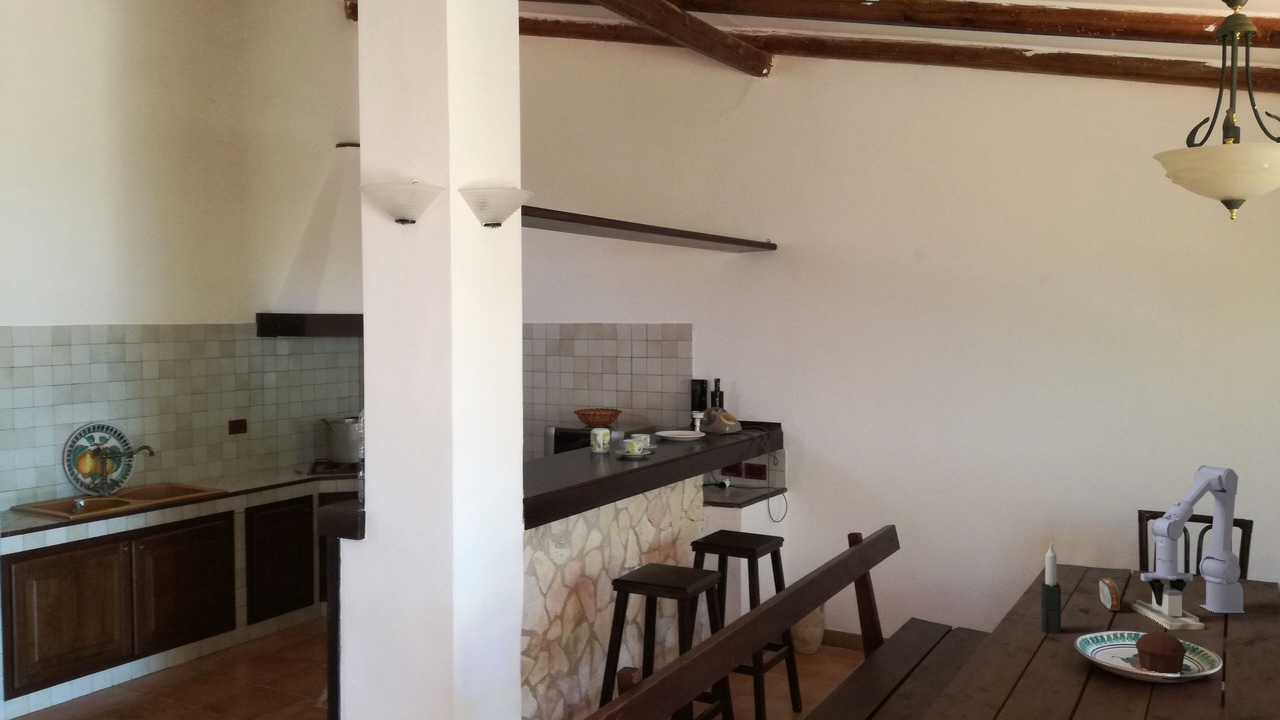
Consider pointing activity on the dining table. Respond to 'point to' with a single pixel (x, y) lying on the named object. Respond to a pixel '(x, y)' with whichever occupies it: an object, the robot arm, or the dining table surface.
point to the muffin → (1160, 652)
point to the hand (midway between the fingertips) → (1166, 604)
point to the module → (1169, 601)
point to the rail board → (1168, 617)
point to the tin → (1109, 594)
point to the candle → (1050, 596)
